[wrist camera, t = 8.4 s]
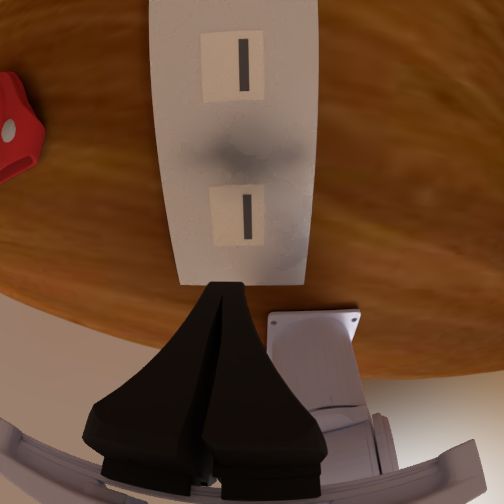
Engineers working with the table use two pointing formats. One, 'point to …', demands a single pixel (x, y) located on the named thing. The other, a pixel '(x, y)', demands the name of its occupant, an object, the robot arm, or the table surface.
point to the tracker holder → (17, 128)
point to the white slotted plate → (236, 135)
